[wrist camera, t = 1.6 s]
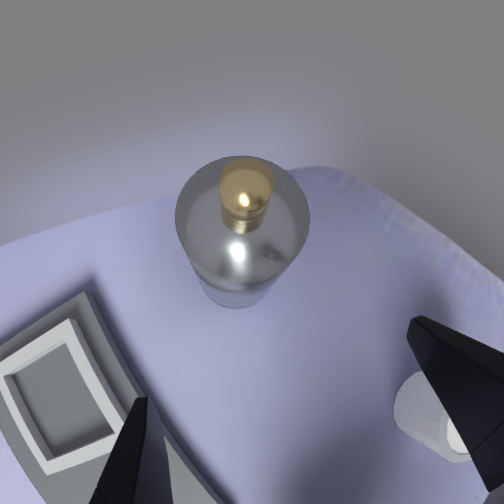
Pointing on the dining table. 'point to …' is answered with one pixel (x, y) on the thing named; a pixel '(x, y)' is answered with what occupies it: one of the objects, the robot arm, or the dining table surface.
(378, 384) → the dining table surface
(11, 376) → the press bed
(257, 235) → the gold-capped silver bottle
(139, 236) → the dining table surface
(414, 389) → the shot glass
